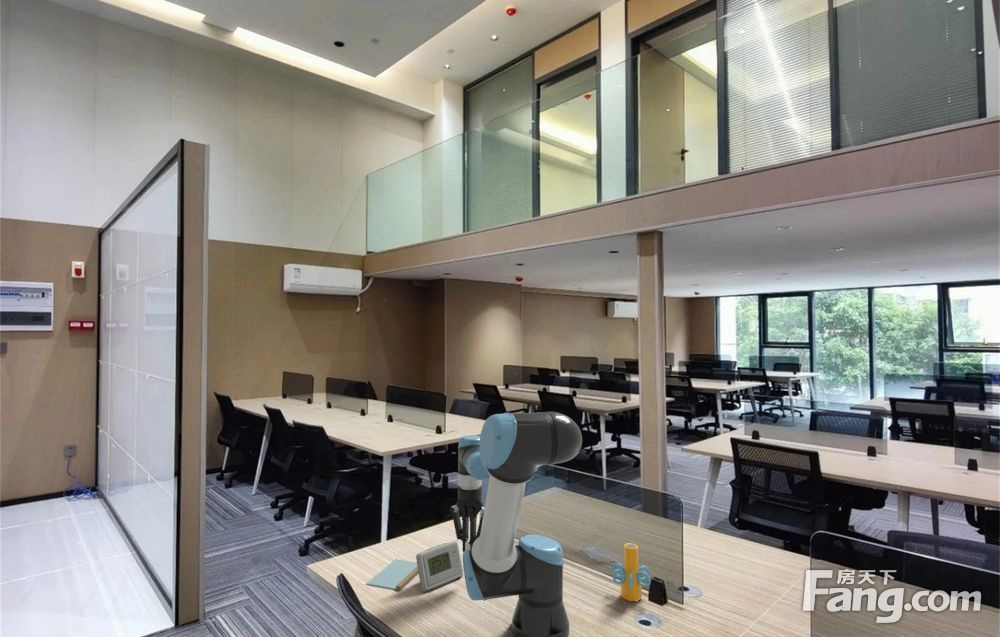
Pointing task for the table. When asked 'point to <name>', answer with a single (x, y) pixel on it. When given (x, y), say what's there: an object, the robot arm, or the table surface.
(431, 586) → the digital clock
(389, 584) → the mat
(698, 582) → the table surface
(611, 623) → the table surface
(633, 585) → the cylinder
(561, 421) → the robot arm
